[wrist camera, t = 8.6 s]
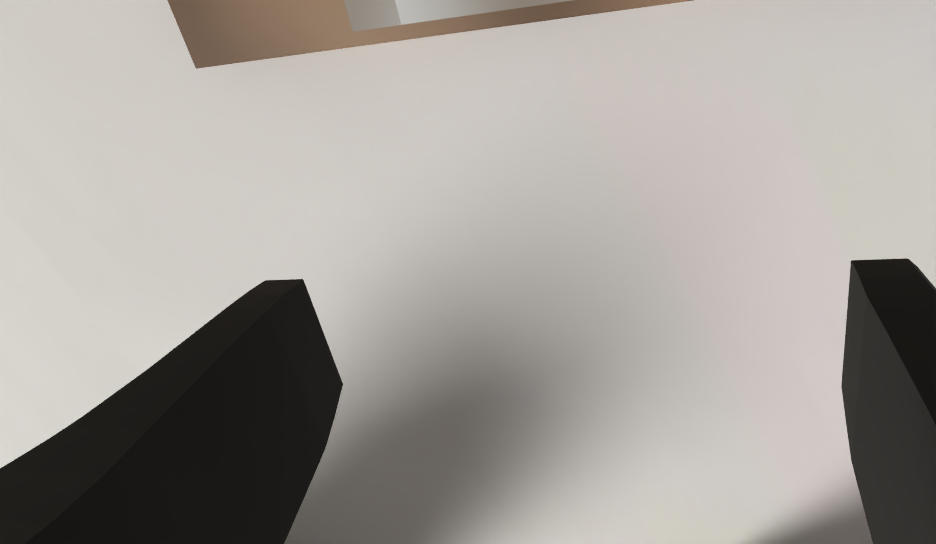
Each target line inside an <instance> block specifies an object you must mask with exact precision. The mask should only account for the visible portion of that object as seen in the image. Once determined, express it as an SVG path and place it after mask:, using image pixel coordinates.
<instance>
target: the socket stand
mask: <svg viewBox="0 0 936 544" xmlns="http://www.w3.org/2000/svg"><path fill="white" fill-rule="evenodd" d="M685 1H692V0H168V2H169V5H170V7H171V10H172V12H173V14H174V17H175V19H176V22H177V24H178V26H179V29H180V31H181V34H182V36H183V38H184V41H185V43H186V46H187V48H188V50H189V53H190V55H191V58H192V60H193V62H194V65H195V67H196V68H203V67H210V66H218V65H225V64H232V63H239V62H247V61H254V60H261V59H269V58H276V57H283V56H291V55H298V54H305V53H312V52H320V51H327V50H334V49H342V48H349V47H356V46H363V45H371V44H378V43H385V42H393V41H400V40H407V39H415V38H422V37H429V36H436V35H444V34H451V33H458V32H466V31H473V30H480V29H488V28H495V27H502V26H509V25H517V24H524V23H531V22H539V21H546V20H553V19H561V18H568V17H575V16H582V15H590V14H597V13H604V12H612V11H619V10H626V9H633V8H641V7H648V6H655V5H663V4H670V3H677V2H685Z"/></svg>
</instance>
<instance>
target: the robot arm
mask: <svg viewBox="0 0 936 544" xmlns="http://www.w3.org/2000/svg"><path fill="white" fill-rule="evenodd" d="M342 386H343V383H342V381H341V378H340V375H339V373H338V370H337V367H336V365H335V362H334V360H333V357H332V354H331V352H330V349H329V346H328V344H327V341H326V338H325V336H324V333H323V331H322V328H321V325H320V323H319V320H318V317H317V315H316V312H315V309H314V307H313V304H312V302H311V299H310V296H309V294H308V291H307V288H306V286H305V283H304V280H303V279H296V280H267V281H264V282H262V283H261V284H259V285H258V286H256V287H255V288H253V289H252V290H250V291H249V292H247V293H246V294H244V295H243V296H242V297H240V298H239V299H238V300H236V301H235V302H234V303H232V304H231V305H230V306H228V307H227V308H226V309H224V310H223V311H222V312H221V313H219V314H218V315H217V316H215V317H214V318H213V319H212V320H210V321H209V322H208V323H206V324H205V325H204V326H203V327H201V328H200V329H199V330H198V331H196V332H195V333H194V334H192V335H191V336H190V337H189V338H187V339H186V340H185V341H183V342H182V343H181V344H180V345H178V346H177V347H176V348H174V349H173V350H172V351H171V352H169V353H168V354H167V355H165V356H164V357H163V358H162V359H160V360H159V361H158V362H156V363H155V364H154V365H153V366H151V367H150V368H149V369H147V370H146V371H145V372H143V373H142V374H141V375H139V376H138V377H136V378H135V379H134V380H132V381H131V382H130V383H128V384H127V385H125V386H124V387H123V388H121V389H120V390H119V391H117V392H116V393H114V394H113V395H112V396H110V397H109V398H108V399H106V400H105V401H103V402H102V403H101V404H99V405H98V406H97V407H95V408H94V409H92V410H91V411H90V412H88V413H87V414H85V415H84V416H83V417H81V418H80V419H78V420H77V421H75V422H74V423H72V424H71V425H69V426H68V427H66V428H65V429H63V430H62V431H60V432H59V433H57V434H56V435H54V436H52V437H51V438H49V439H48V440H46V441H45V442H43V443H41V444H40V445H38V446H36V447H35V448H33V449H32V450H30V451H28V452H27V453H25V454H23V455H22V456H20V457H19V458H17V459H15V460H14V461H12V462H10V463H9V464H7V465H5V466H4V467H2V468H0V544H284V542H285V540H286V538H287V535H288V533H289V531H290V528H291V526H292V524H293V522H294V519H295V517H296V515H297V513H298V510H299V508H300V506H301V504H302V501H303V499H304V497H305V494H306V492H307V490H308V487H309V485H310V483H311V480H312V478H313V476H314V473H315V471H316V469H317V466H318V464H319V462H320V459H321V457H322V454H323V452H324V450H325V447H326V444H327V441H328V437H329V434H330V431H331V427H332V424H333V421H334V417H335V413H336V409H337V405H338V401H339V397H340V393H341V390H342ZM842 393H843V401H844V409H845V417H846V425H847V432H848V439H849V446H850V453H851V460H852V464H853V468H854V472H855V476H856V480H857V484H858V488H859V491H860V495H861V499H862V503H863V507H864V510H865V514H866V518H867V522H868V526H869V529H870V533H871V537H872V541H873V544H936V288H935V287H934V286H933V285H932V283H931V282H930V281H929V280H928V279H927V278H926V276H925V275H924V274H923V273H922V272H921V271H920V269H919V268H918V267H917V266H916V265H915V264H914V263H912V262H911V261H910V260H909V259H882V260H853V261H851V270H850V283H849V296H848V309H847V322H846V335H845V348H844V361H843V374H842Z"/></svg>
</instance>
